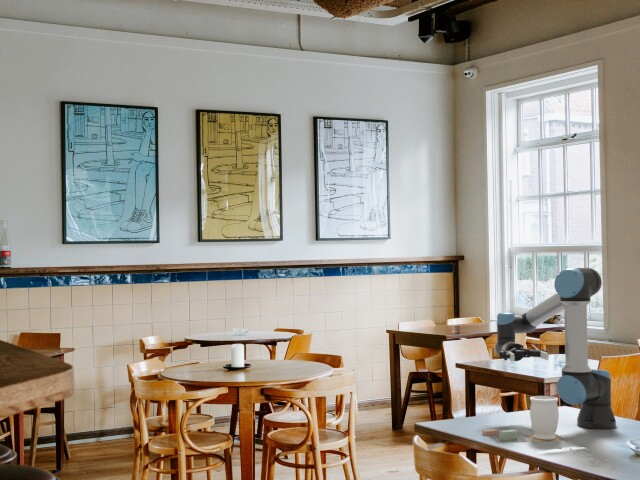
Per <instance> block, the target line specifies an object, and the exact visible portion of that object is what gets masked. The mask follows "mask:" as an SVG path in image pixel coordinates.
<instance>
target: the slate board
mask: <svg viewBox="0 0 640 480" xmlns="http://www.w3.org/2000/svg"><path fill="white" fill-rule="evenodd" d="M488 437H489V438H490V439H491V440H493V441H495V443H497V444H504V443H505V444H507V443H512V444H513V443H529V442H530V441H529V440H527V439H526V438H524V437H522V436H521V435H519V434H517V439H513V440H501V439H499V435H489V436H488Z"/></svg>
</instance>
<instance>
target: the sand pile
mask: <svg viewBox="0 0 640 480" xmlns="http://www.w3.org/2000/svg"><path fill="white" fill-rule="evenodd" d="M533 435H534V434H523V435H522V436H524V437H525V439H526V438H527V439H528V440H530V441H531V442H533V443H535V442H536V443H542V442H543V443H544V442H546V443H547V442H548V443H549V442H568V439H565V438H564V437H563V436H560V435H559V434H556V433H555V435H556V438H555V439H552V440H542V439H536V438H534V437H533Z"/></svg>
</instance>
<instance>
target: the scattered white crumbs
mask: <svg viewBox="0 0 640 480" xmlns="http://www.w3.org/2000/svg"><path fill="white" fill-rule="evenodd" d="M569 451H570V452H571V453H573V455H575V456H581V457H584V455H583V454H581V453H579V451H578V450H577V451H576V450H574V449H573V450H572V448H569ZM586 451H587V453H588V452H589V450H588V449H587V448H585V453H586ZM577 452H578V453H579V454H578V453H577ZM587 453H586V454H587ZM586 454H585V455H586ZM593 456H594V455H593V453H588V454H587V457H588V458H589V459H590V460H588V461H586V463H587V464H588V465H589V466H592V467H593V468H594V467H595V466H596V467H598V466H599V465H598V464H597V463H599V461H598V460H597V461H594V458H592V457H593ZM592 462H594V463H596V464H592ZM604 462H605V463H607V462H608V459H606V458H605V459H604ZM600 463H603V461H602V460H601V461H600ZM600 467H601V468H602V467H603V469H606V466H604V465H602V464H600ZM610 467H612V469H617V467H616V466H613V465H610V466H607V468H608V469H609V468H610Z"/></svg>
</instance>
